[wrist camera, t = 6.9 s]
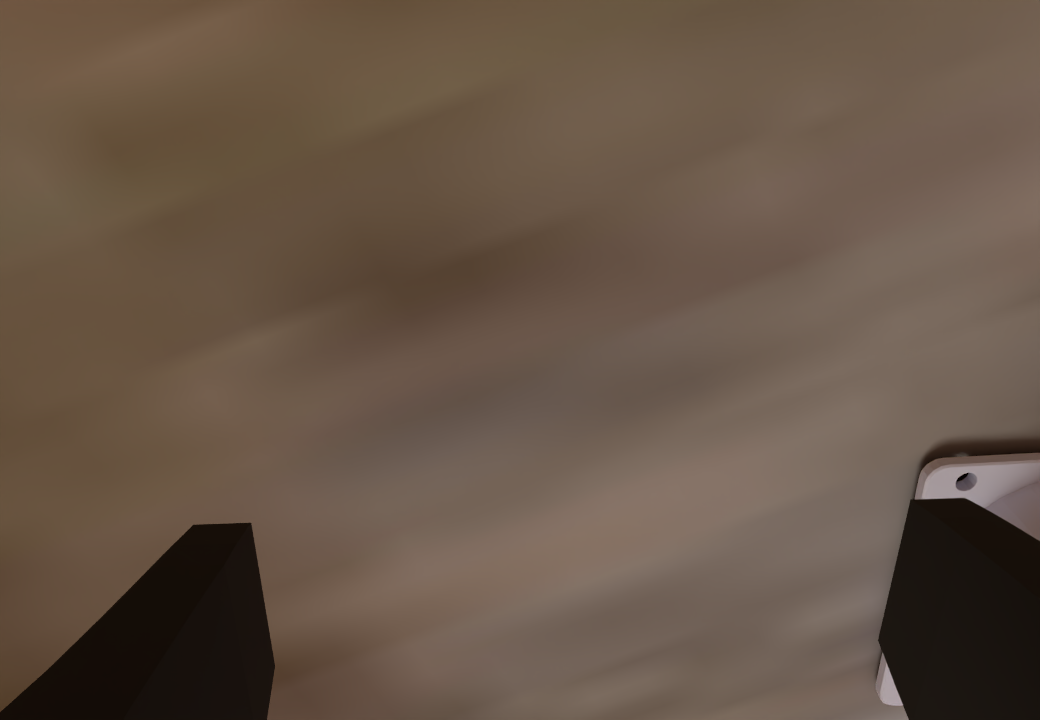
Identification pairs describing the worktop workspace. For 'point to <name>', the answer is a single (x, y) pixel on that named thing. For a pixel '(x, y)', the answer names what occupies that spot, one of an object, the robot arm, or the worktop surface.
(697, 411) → the worktop surface
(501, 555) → the worktop surface
